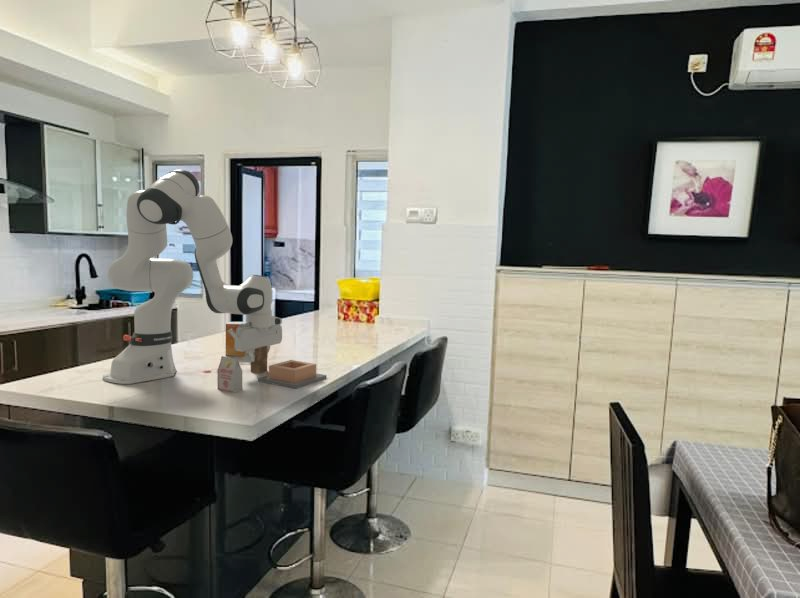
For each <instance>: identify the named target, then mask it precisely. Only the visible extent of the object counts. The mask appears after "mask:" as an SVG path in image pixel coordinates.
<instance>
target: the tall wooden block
mask: <svg viewBox="0 0 800 598" xmlns="http://www.w3.org/2000/svg"><path fill="white" fill-rule="evenodd" d="M254 355H255V356H257V361H254V362H251V361H250V372H252V373H256V374H261V373H265V372H268V358H267V346H264V347H260V348H257V349H255V352H254Z"/></svg>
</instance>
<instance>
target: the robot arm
mask: <svg viewBox="0 0 800 598" xmlns="http://www.w3.org/2000/svg"><path fill="white" fill-rule="evenodd" d="M199 193H200V183H199V181H198V179H197V178H196V176H195V175H194V174H192V173H191V172H190V171H187V170H185V169H175V170H171V171H169V172H167V174H165V175H163V176H161V177H159V178H158V179H156V180H155V181H154V182H153V183H152V184H151V185H149V187H147V188H146V189H142V190H136V191H135V192H132V193H131V194H129V196H128V198H127V203H126V216H125V218H126V227H127V237H128V241H127V242H128V243H127V248H126V250H125V252H124V253H123V254H122V255H121V256H120V257H119V258H117V259H115V260H114V261H113V262H111V263H110V265H109V267H108V270H107V278H108V281H109V283H110V284H111V286H113V288H115V289H117V290H121V291H128V292H153V293H154V296H153V297H152V298H151V299H149V300H147V301H144V302H143V303H141V304H139V305H138V306H137V307H136V308H135V310H134V312H133V314H134V315H133V316H134V318H133V319H134V332H133V333H132V335H130V334H124V335H123V336H122V338H123V341H126V342H129V345H128V346H126V347H125V349H123V350H122V351H121V352H120V353H118V355H116V356H115V357H114V358H113V359H112V361H111V366H110V373H106V374H104V375H102V380H104V381H105V382H110V383H114V384H120V385H121V384H122V385H123V384H124V385H131V384H136V383H144V382H147V381H153V380H155V381H156V380H159V379H165V378H171V377H174V376H175V373H177V369H176V365H175V361H174V357H173V349H172V345H173V344H172V343H173V331H172V329H171V328H172V327H171V323H172V321H171V319H172V311H173V310H172V309H173V306H174V304H175V301H176V300H177V298H178V297H179V296H180V294H182V293H183V292H184V291H185V290H187V289H188V288H189V287H190V286H191V284H192V282H193V280H194V270H193V268H192V266H191V265H190V263H189V262H187V261H186V260H180V259H176V258H175V259H174V258H155V257H156V256H158V255H160V254H161V253H162V252H164V251H165V249H166V247H167V246H168V233H167V224H168V225H174V226H175V225H177V224H179V223H180V221H181V222H182V223H184V224H185V225H186V226H187V229H188V230H189V233H190V235H191V237H192V239H193V241H194V245H195V249H194V260H195V263H196V266H197V269H198V273H199V275H200V279H201V282H202V284H203V288H204V292H205V301H206V304H207V306H208V308H209V309H210V311H212V312H213V313H215V314H230V315H231V314H233V315H241V316H242V315H243V316H245V322H246V323H245V324H240V325H239V326H238V327H237V329H236V335H235V344H234V348H235V349H236V351H242V352H243V351H247V352H248V354H247V355H248V356H249V361H250V363H251V362H254V361H257V356H255V355H254V352H255V349H257V348H260V347H264V346H267V359H268V357H269V352H270V350H271V346H274V345H279V344H281V343H282V341H283V326H282V324H283V319H282V318H281V317H277V316H275V315H273V310H272V302H273V289H272V288H273V287H272V282H271V278H269V277H268V276H266V275H259V274H249V275H248V276H247V279H246V280H245V281H243V282H242V283H241V284H239V285H234V284H227V283H226V282H224V281H223V280H222V276H221V274H220V270H219V267H218V264H217V260H218V259H219V258H222V257H223V256H224V255H225V254H227V253H228V252H229V251H230V249H231V248H232V245H233V235H232V232H231V230H230V227H229V224H228V223H227V221H226V218H225V216H224V214H223V212H222V211H221V209H220V207H219V206H218V204H217V203H216V201H215V200H214V199H213V198H212V197H211V196H209V195H205V194H200V195H199ZM153 257H154V258H153ZM244 326H245V327H244Z"/></svg>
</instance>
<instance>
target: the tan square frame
mask: <svg viewBox="0 0 800 598" xmlns="http://www.w3.org/2000/svg"><path fill="white" fill-rule="evenodd" d="M325 379H327V374H322V373H317V363H313V362H306V361H300V360H294V359H289V360H286V361H281V362H278V363H274V364H271V365H268V375H263V376H260V377H257V382H259V383H260V382H261V383H265V384H269V385H270V384H271V385H275V386H281V387H285V388H291V389H298V388H301V387H305V386H307V385H310V384H313V383H316V382H319V381H322V380H325Z"/></svg>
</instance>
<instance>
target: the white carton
mask: <svg viewBox="0 0 800 598" xmlns="http://www.w3.org/2000/svg"><path fill="white" fill-rule="evenodd" d="M216 373H217V390H220V391H225V392H229V393H232V394H233V393H236V392H237V393H238V392H240V391H243V369H242V368H241V364H240V362H239V359H238V358H235V357H229V356H223V355H222V356H221V359H220V362H219V365H218V368H217V371H216Z"/></svg>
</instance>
